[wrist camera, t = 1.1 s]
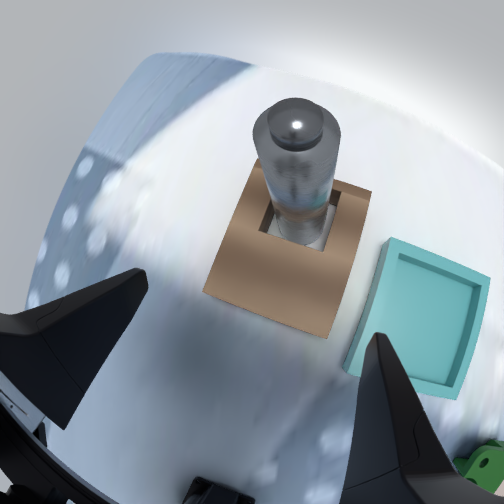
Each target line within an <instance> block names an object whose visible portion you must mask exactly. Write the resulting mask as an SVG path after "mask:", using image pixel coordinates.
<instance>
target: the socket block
mask: <svg viewBox="0 0 504 504" xmlns="http://www.w3.org/2000/svg"><path fill="white" fill-rule="evenodd" d="M371 193H372V191H369V190H366V189H363V188H360V187H357V186H354V185H351V184H348V183H345V182H342V181H339V180H335V179H333V184H332V190H331V195H330V200H329V203H330V204H333V205H336V206H337V209H336V213H335V216H334V219H333V222H332V226H331V229H330V232H329V235H328V239H327V242H326V245H325V248H324V251H323V252H321V251H318V250H315V249H312V248H309V247H306V246H303V245H300V244H297V243H294V242H291V241H288V240H285V239H282V238H279V237H276V236H273V235H270V234H267V231H268V228H269V225H270V223H271V220H272V218H273V215H274V212H275V211H274V208H273V204H272V201H271V197H270V194H269V190H268V187H267V184H266V180H265V177H264V173H263V170H262V167H261V163H260V160H259V159H258V158H257V160H256V162H255V165H254V167H253V169H252V171H251V174H250V176H249V178H248V181H247V183H246V185H245V188H244V190H243V192H242V195H241V197H240V199H239V202H238V204H237V207H236V209H235V211H234V214H233V216H232V219H231V221H230V223H229V226H228V228H227V231H226V233H225V236H224V238H223V240H222V243H221V245H220V248H219V250H218V253H217V255H216V258H215V260H214V263H213V265H212V268H211V270H210V273H209V275H208V278H207V280H206V283H205V286H204V288H203V291H202V292H204V293H206V294H209V295H211V296H213V297H216V298H218V299H221V300H223V301H226V302H228V303H231V304H233V305H235V306H238V307H241V308H243V309H246V310H248V311H251V312H253V313H256V314H258V315H261V316H264V317H266V318H269V319H272V320H274V321H277V322H280V323H282V324H285V325H288V326H291V327H293V328H296V329H299V330H302V331H305V332H307V333H310V334H313V335H316V336H319V337H322V338H325V339H327V338H328V335H329V332H330V330H331V327H332V324H333V322H334V319H335V316H336V313H337V311H338V308H339V305H340V302H341V299H342V296H343V293H344V290H345V287H346V284H347V281H348V278H349V275H350V271H351V268H352V265H353V262H354V258H355V255H356V251H357V248H358V244H359V241H360V237H361V233H362V230H363V226H364V222H365V218H366V214H367V210H368V206H369V202H370V197H371Z"/></svg>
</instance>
